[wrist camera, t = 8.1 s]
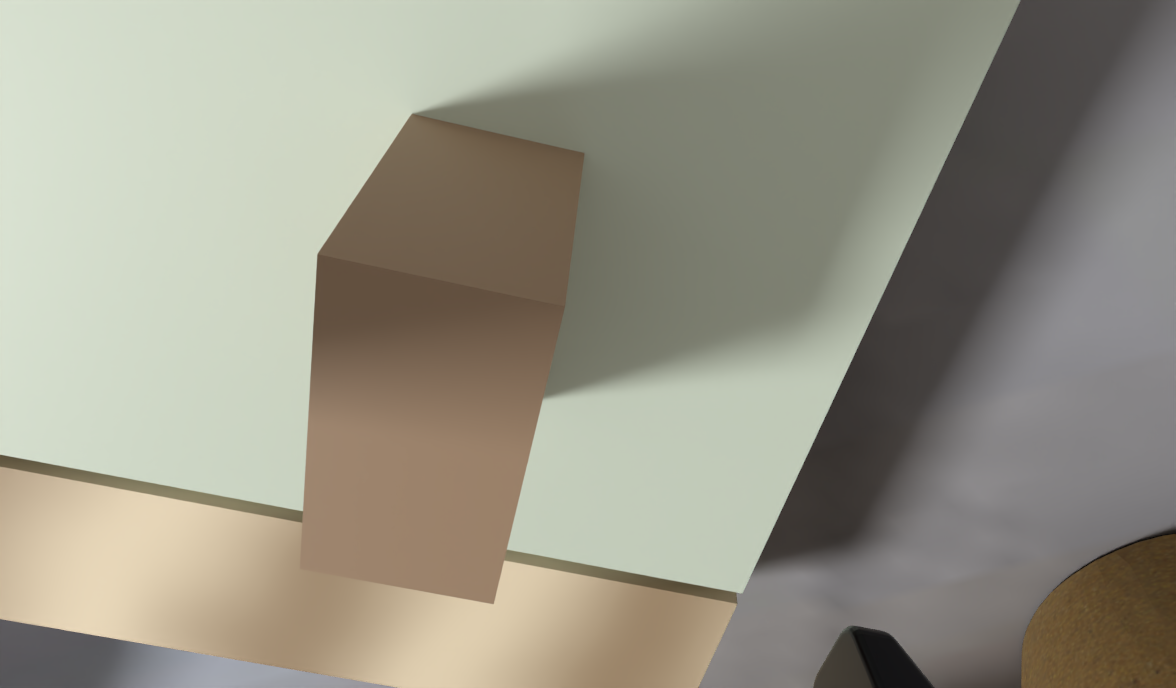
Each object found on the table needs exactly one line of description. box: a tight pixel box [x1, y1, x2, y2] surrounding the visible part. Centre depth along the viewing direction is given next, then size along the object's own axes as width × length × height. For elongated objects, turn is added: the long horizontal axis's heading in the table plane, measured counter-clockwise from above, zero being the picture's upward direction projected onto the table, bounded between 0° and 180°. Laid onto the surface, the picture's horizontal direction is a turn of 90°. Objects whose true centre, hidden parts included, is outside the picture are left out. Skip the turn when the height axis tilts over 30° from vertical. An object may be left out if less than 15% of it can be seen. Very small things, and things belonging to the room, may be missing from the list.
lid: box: [0, 0, 1021, 604], centre depth 12 cm, size 15×11×6 cm
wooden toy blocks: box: [0, 455, 737, 688], centre depth 14 cm, size 15×24×4 cm, turn 168°
